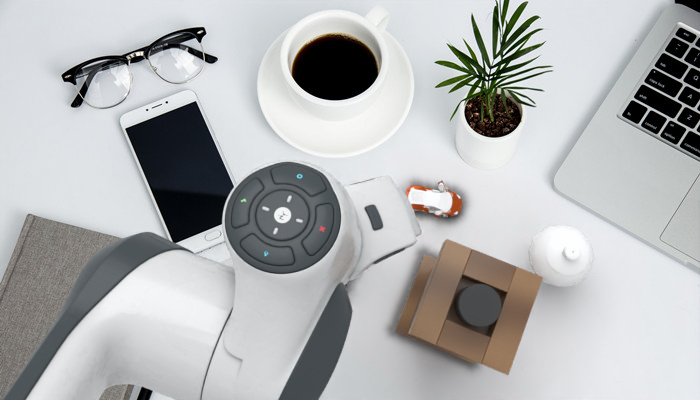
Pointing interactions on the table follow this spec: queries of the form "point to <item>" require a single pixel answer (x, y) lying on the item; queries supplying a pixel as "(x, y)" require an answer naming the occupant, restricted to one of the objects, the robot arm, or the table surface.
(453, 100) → the table surface
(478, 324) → the button
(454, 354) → the button stand
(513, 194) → the table surface
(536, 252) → the white lidded jar
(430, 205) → the toy car
